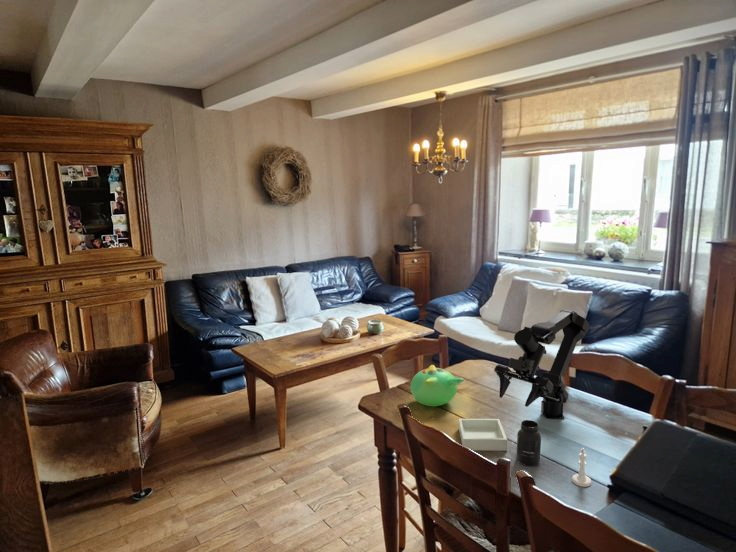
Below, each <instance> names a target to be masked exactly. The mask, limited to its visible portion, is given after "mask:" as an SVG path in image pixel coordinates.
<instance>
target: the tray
mask: <svg viewBox="0 0 736 552" xmlns="http://www.w3.org/2000/svg"><path fill="white" fill-rule="evenodd" d="M502 425H503V424H502V423H501V421H500V418H458V431H459V436H460V440H461V441H460V442H461V445H463V446H466V447H468V448H470V449H472V450H471V451H491V452H492V451H493V452H494V451H499V452H501V451H503V452H504V451H505V452H506V451H508V438H507V434H506V432H505V430H504V428H503V426H502ZM463 446H462V447H463Z"/></svg>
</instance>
